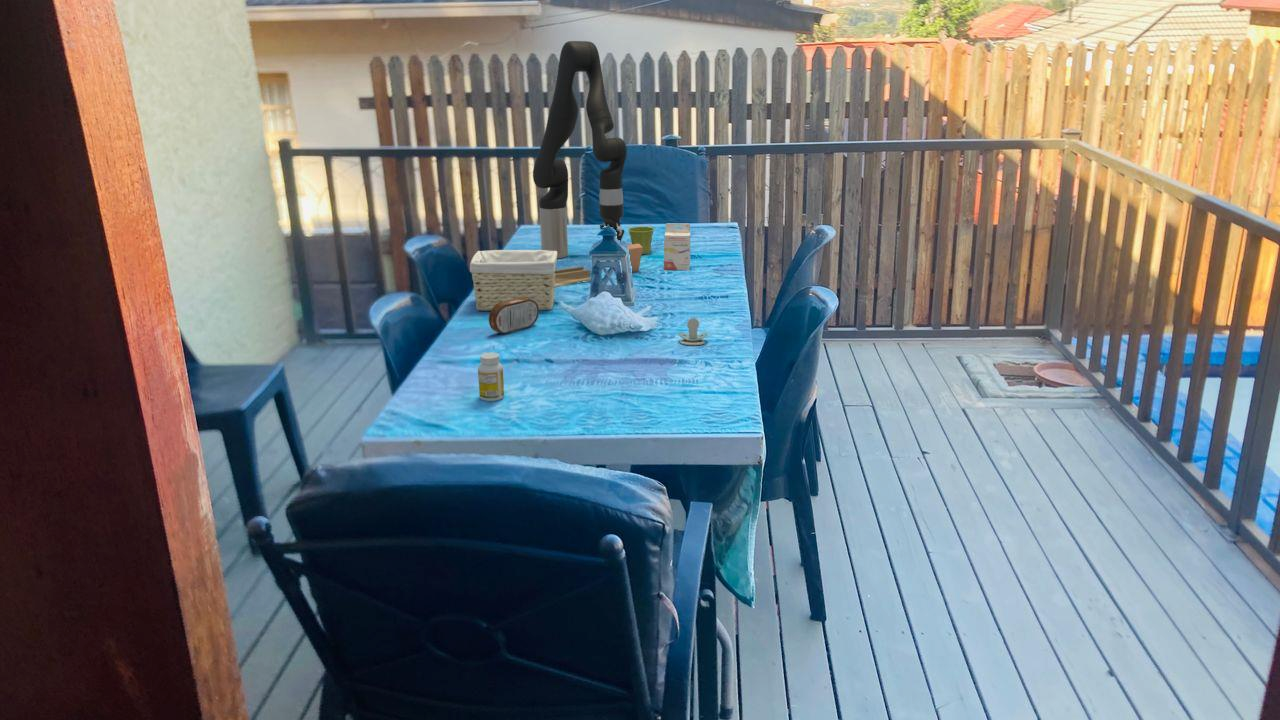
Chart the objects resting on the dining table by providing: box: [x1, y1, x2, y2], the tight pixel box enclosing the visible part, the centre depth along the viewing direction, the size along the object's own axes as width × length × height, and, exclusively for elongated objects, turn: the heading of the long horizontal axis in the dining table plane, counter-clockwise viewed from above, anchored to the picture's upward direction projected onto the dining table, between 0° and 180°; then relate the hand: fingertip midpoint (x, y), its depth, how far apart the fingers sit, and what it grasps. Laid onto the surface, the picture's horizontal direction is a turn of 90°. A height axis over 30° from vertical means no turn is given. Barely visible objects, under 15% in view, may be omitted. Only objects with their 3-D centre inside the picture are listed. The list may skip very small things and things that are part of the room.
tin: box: [488, 297, 540, 335], centre depth 254 cm, size 15×3×8 cm, turn 134°
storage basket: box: [469, 249, 558, 311], centre depth 276 cm, size 24×16×15 cm
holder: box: [554, 266, 591, 288], centre depth 303 cm, size 12×18×3 cm, turn 119°
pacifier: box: [678, 317, 708, 346], centre depth 243 cm, size 7×6×6 cm
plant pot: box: [627, 226, 655, 256], centre depth 338 cm, size 9×9×9 cm
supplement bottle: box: [477, 352, 505, 402], centre depth 208 cm, size 5×5×10 cm
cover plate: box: [626, 243, 643, 273], centre depth 310 cm, size 2×14×9 cm, turn 120°
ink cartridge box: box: [663, 222, 692, 271], centre depth 315 cm, size 9×5×15 cm, turn 84°
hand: (612, 255), depth 311 cm, fingers closed
